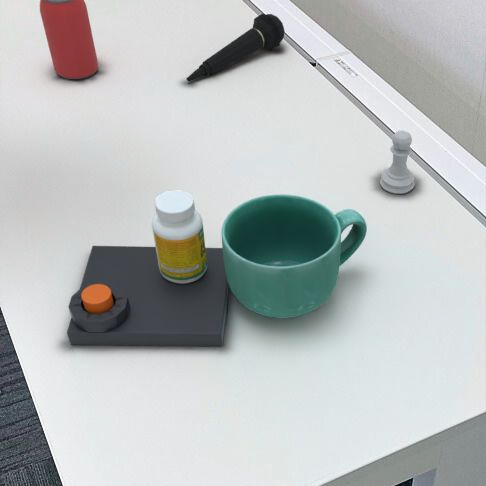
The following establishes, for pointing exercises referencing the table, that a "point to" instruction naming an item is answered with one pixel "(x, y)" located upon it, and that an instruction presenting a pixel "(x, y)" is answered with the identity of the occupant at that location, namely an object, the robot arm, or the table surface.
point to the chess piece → (399, 166)
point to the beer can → (69, 37)
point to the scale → (150, 301)
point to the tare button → (97, 299)
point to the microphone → (244, 45)
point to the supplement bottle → (179, 237)
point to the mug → (287, 252)
